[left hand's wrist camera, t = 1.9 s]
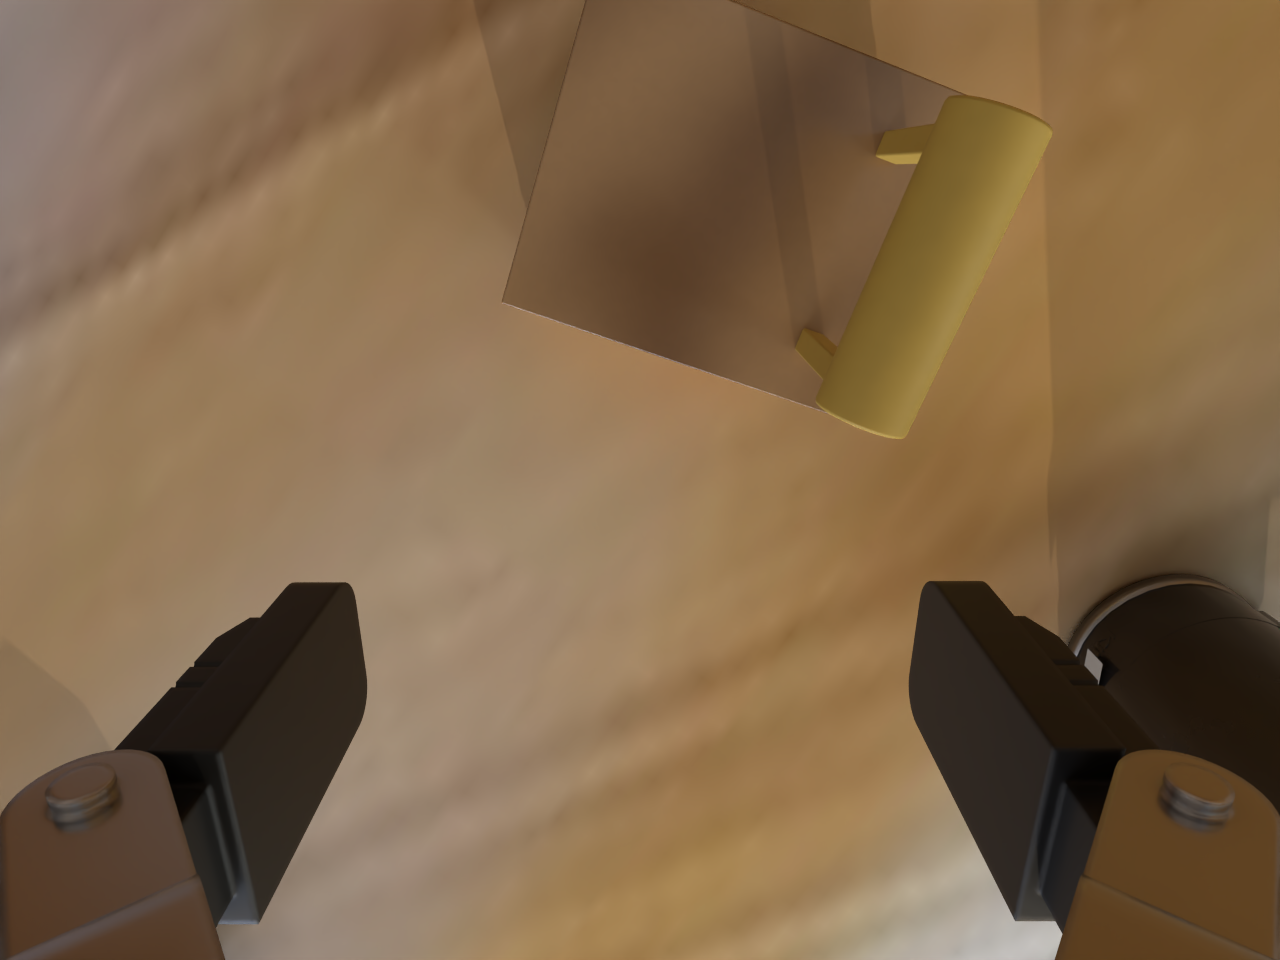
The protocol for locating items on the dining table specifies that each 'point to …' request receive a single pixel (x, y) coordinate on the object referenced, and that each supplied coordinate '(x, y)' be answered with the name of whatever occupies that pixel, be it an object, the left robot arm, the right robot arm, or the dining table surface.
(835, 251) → the lid
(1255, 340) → the dining table surface
